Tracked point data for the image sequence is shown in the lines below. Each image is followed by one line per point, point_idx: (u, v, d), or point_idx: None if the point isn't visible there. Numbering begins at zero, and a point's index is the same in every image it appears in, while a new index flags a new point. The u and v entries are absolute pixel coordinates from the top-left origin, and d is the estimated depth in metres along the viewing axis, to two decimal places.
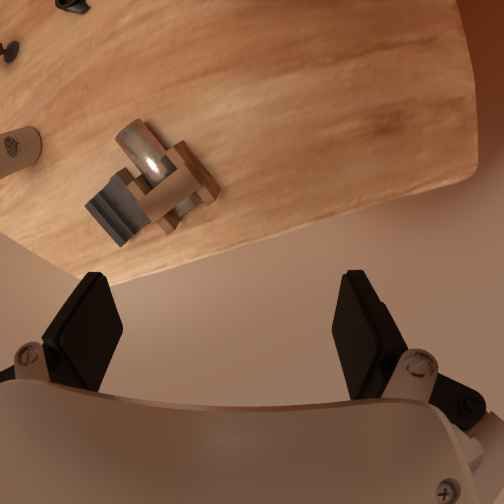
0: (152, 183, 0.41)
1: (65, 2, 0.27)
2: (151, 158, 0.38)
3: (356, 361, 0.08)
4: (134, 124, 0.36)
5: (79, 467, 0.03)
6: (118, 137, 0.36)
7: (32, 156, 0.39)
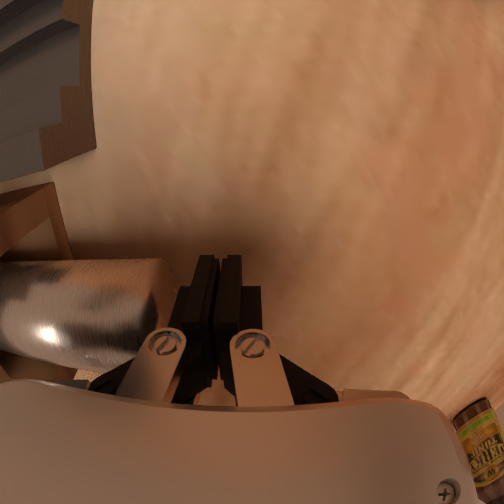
0: None
1: None
2: None
3: None
4: None
5: (79, 467, 0.03)
6: None
7: None
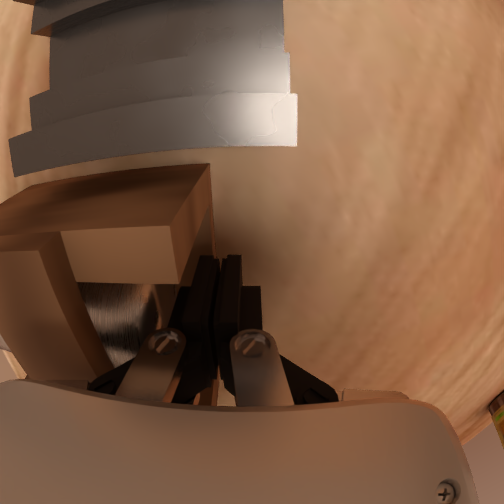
0: None
1: None
2: None
3: None
4: None
5: (79, 467, 0.03)
6: None
7: None
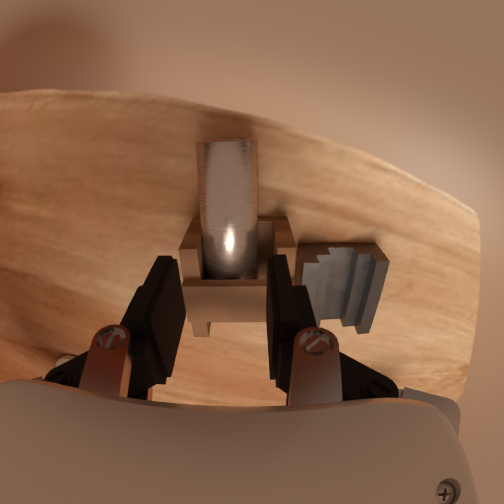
0: (240, 225, 0.23)
1: None
2: (210, 257, 0.25)
3: (270, 339, 0.09)
4: None
5: (79, 467, 0.03)
6: None
7: None
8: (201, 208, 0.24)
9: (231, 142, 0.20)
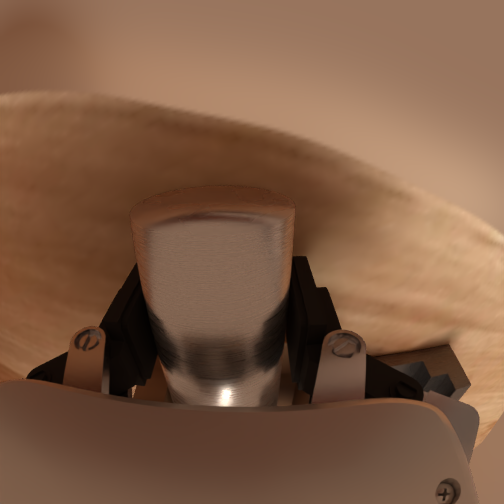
0: (246, 404, 0.09)
1: None
2: None
3: (293, 342, 0.09)
4: None
5: (79, 467, 0.03)
6: None
7: None
8: (160, 360, 0.10)
9: (223, 236, 0.06)
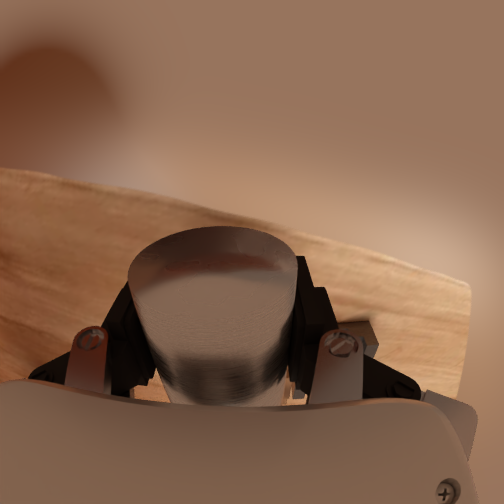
0: None
1: None
2: None
3: (291, 341, 0.09)
4: None
5: (79, 467, 0.03)
6: None
7: None
8: (168, 396, 0.10)
9: (223, 319, 0.06)
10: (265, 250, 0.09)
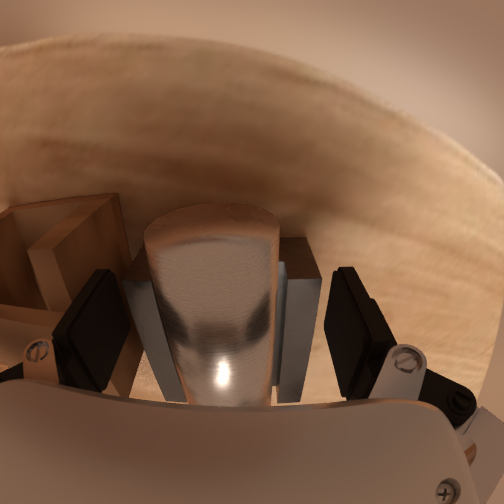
0: (248, 385, 0.12)
1: None
2: None
3: (346, 357, 0.08)
4: None
5: (79, 467, 0.03)
6: None
7: None
8: (173, 355, 0.12)
9: (227, 260, 0.08)
10: (252, 216, 0.11)
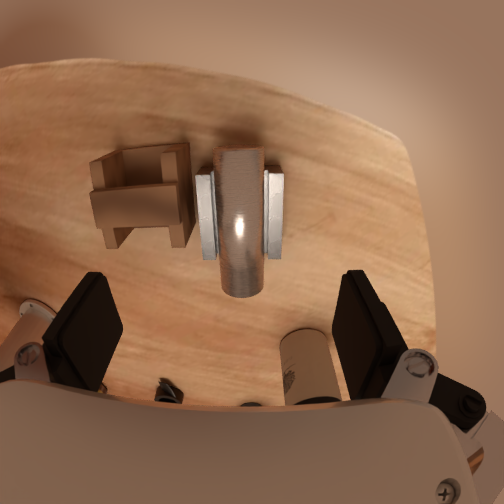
0: (251, 219, 0.28)
1: None
2: (226, 246, 0.30)
3: (356, 361, 0.08)
4: (223, 287, 0.33)
5: (79, 467, 0.03)
6: (246, 294, 0.32)
7: (299, 341, 0.42)
8: (218, 205, 0.28)
9: (245, 152, 0.25)
10: (254, 146, 0.27)
